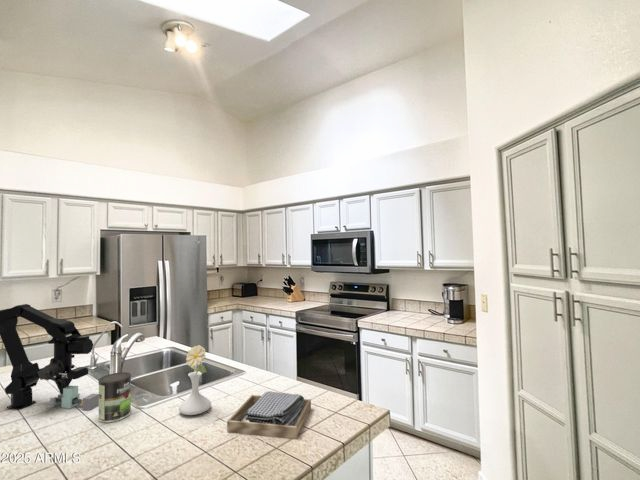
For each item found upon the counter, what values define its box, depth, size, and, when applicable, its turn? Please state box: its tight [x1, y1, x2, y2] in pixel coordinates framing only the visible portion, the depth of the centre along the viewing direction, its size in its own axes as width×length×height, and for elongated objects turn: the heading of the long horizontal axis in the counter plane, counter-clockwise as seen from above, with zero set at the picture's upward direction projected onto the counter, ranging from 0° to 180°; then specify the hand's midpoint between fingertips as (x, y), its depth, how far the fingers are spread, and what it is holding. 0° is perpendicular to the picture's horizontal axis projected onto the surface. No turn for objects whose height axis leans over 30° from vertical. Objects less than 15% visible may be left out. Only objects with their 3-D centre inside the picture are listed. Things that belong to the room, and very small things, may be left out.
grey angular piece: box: [45, 393, 99, 411], centre depth 132 cm, size 18×7×4 cm, turn 78°
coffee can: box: [97, 371, 132, 424], centre depth 124 cm, size 10×10×14 cm
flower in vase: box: [178, 344, 212, 416], centre depth 127 cm, size 13×11×25 cm
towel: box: [245, 390, 305, 426], centre depth 119 cm, size 15×18×8 cm
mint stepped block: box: [61, 384, 81, 409], centre depth 133 cm, size 4×4×7 cm
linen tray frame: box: [226, 394, 312, 440], centre depth 119 cm, size 24×21×4 cm
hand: (62, 394), depth 134 cm, fingers closed
